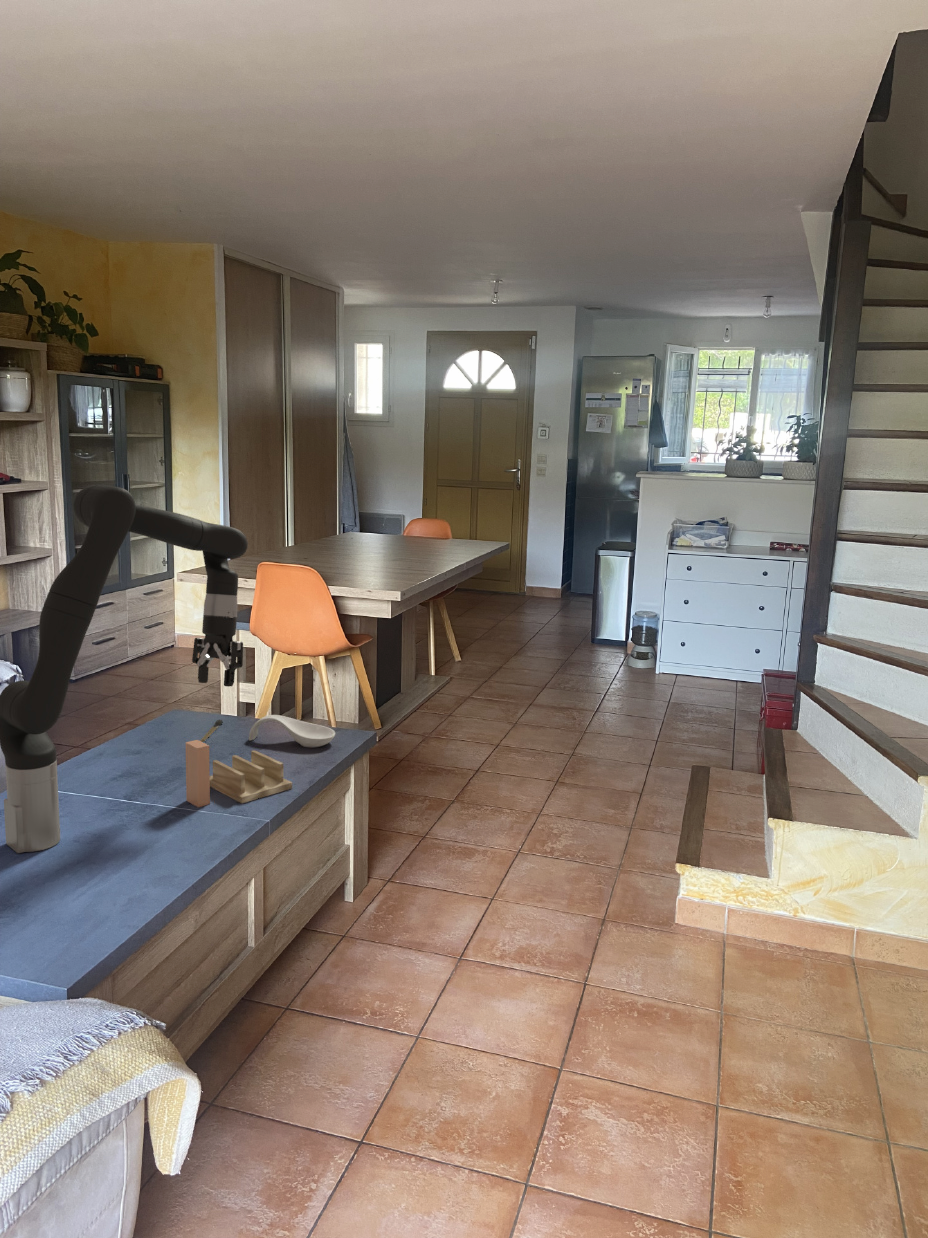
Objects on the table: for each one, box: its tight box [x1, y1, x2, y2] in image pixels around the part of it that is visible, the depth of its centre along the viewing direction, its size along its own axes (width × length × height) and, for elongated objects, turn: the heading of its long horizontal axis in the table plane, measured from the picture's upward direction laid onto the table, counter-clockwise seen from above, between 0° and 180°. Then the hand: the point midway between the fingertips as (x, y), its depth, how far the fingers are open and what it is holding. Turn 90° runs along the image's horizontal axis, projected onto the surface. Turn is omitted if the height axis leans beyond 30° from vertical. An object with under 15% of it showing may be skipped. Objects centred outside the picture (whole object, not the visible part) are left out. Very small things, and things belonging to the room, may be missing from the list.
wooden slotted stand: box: [210, 749, 293, 804], centre depth 217 cm, size 14×16×6 cm
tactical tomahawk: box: [199, 719, 224, 742], centre depth 253 cm, size 21×7×1 cm, turn 176°
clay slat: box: [185, 739, 211, 808], centre depth 205 cm, size 3×5×14 cm, turn 47°
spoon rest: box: [248, 714, 336, 748], centre depth 249 cm, size 24×12×7 cm, turn 84°
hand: (215, 684), depth 209 cm, fingers open, 8 cm apart
